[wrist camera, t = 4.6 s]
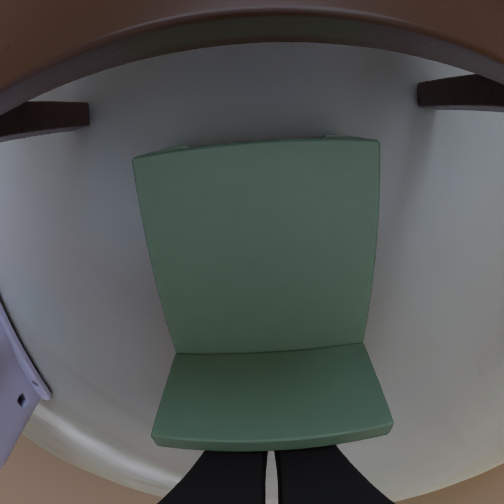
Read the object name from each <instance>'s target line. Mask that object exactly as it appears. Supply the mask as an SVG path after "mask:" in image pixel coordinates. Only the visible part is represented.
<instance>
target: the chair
mask: <svg viewBox="0 0 504 504" xmlns="http://www.w3.org/2000/svg"><path fill="white" fill-rule="evenodd" d="M132 162H133V169H134V176H135V182H136V188H137V194H138V200H139V206H140V211H141V217H142V222H143V227H144V232H145V237H146V241H147V246H148V251H149V255H150V260H151V264H152V268H153V272H154V276H155V281H156V285H157V288H158V292H159V296H160V300H161V304H162V307H163V311H164V315H165V318H166V322H167V325H168V329H169V332H170V335H171V339H172V342H173V345H174V348H175V352H176V355H175V357H174V360H173V364H172V367H171V370H170V373H169V376H168V379H167V382H166V386H165V389H164V392H163V395H162V399H161V402H160V405H159V409H158V412H157V415H156V419H155V422H154V426H153V429H152V432H151V437H152V438H153V440H154V441H155V443H156V444H157V445H158V446H163V447H172V448H181V449H193V450H208V451H276V450H291V449H303V448H312V447H321V446H328V445H335V444H342V443H348V442H353V441H359V440H364V439H369V438H374V437H378V436H383V435H387V434H388V433H389V432H390V430H391V428H392V426H393V424H394V421H393V419H392V416H391V413H390V410H389V407H388V405H387V402H386V399H385V397H384V394H383V391H382V389H381V386H380V383H379V381H378V378H377V376H376V373H375V371H374V368H373V366H372V363H371V361H370V358H369V356H368V353H367V351H366V348H365V346H364V344H363V339H364V333H365V328H366V322H367V316H368V310H369V303H370V296H371V289H372V281H373V273H374V264H375V254H376V243H377V231H378V215H379V193H380V142H379V140H375V139H366V138H359V137H350V136H324V138H299V139H275V140H259V141H245V142H234V143H223V144H214V145H205V146H197V147H188V146H179V147H172V148H168V149H164V150H160V151H156V152H152V153H148V154H145V155H140V156H137V157H134V158H133V159H132Z"/></svg>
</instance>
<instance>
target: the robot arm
mask: <svg viewBox="0 0 504 504" xmlns="http://www.w3.org/2000/svg"><path fill="white" fill-rule="evenodd" d="M51 397H52V394H51V392H50V391H49V389H48V388H47V386H46V385H45V383H44V382H43V380H42V379H41V377H40V376H39V374H38V372H37V371H36V369H35V367H34V366H33V364H32V362H31V361H30V359H29V357H28V356H27V354H26V352H25V350H24V348H23V347H22V345H21V343H20V341H19V339H18V337H17V335H16V333H15V331H14V330H13V327H12V325H11V323H10V321H9V319H8V317H7V315H6V313H5V311H4V308H3V306H2V304H1V302H0V469H1V468H2V467H3V465H4V464H5V463H6V461H7V459H8V457H9V455H10V453H11V451H12V449H13V447H14V446H15V443H16V442H17V440H18V438H19V436H20V434H21V432H22V430H23V429H24V427H25V425H26V423H27V421H28V419H29V418H30V416H31V414H32V412H33V411H34V409H35V407H36V406H37V404H38V402H39V400H40V399H44V400H50V399H51ZM274 453H275V460H276V468H277V477H278V504H395V503H394V502H392V501H391V500H390V499H388V498H387V497H386V496H385V495H384V494H382V493H381V492H380V491H379V490H378V489H377V488H375V487H374V486H373V485H372V484H371V483H370V482H369V481H368V480H367V479H366V478H365V477H364V476H363V475H362V474H361V473H360V472H359V471H358V470H357V469H356V468H355V467H354V466H353V465H352V464H351V463H350V462H349V460H348V459H347V458H346V457H345V456H344V455H343V453H342V452H341V451H340V450H339V448H338V447H337V446H336V445H328V446H321V447H312V448H303V449H291V450H276V451H274ZM267 455H268V451H208V450H205V451H204V452H203V454H202V455H201V457H200V458H199V459H198V460H197V462H196V463H195V464H194V466H193V467H192V468H191V469H190V471H189V472H188V473H187V474H186V475H185V476H184V478H183V479H182V480H181V481H180V482H179V483H178V484H177V485H176V486H175V487H174V488H173V489H172V490H171V491H170V492H169V493H168V494H167V495H166V496H165V497H164V498H163V499H162V500H161V501H160V502H159V503H157V504H266V503H265V480H266V466H267Z"/></svg>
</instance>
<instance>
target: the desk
mask: <svg viewBox="0 0 504 504" xmlns="http://www.w3.org/2000/svg"><path fill="white" fill-rule="evenodd" d="M261 42H314V43H331V44H343V45H352V46H361V47H369V48H375V49H382V50H388V51H393V52H399V53H404V54H408V55H413V56H417V57H422V58H426V59H430V60H434V61H437V62H441V63H444V64H448V65H451V66H454V67H458V68H461V69H464V70H467V71H470V72H473V73H475V74H472V75H464V76H457V77H450V78H444V79H438V80H432V81H426V82H421V83H418V96H419V106H420V107H425V108H430V109H436V110H475V111H493V112H504V0H0V142H4V141H9V140H15V139H20V138H26V137H31V136H38V135H44V134H51V133H59V132H67V131H73V130H77V129H80V128H83V127H87V126H89V124H90V123H89V111H88V103H84V102H61V101H29V100H31V99H33V98H35V97H37V96H39V95H41V94H43V93H46V92H48V91H50V90H52V89H55V88H57V87H59V86H62V85H64V84H67V83H69V82H72V81H74V80H77V79H80V78H83V77H85V76H88V75H91V74H94V73H97V72H100V71H103V70H106V69H109V68H113V67H116V66H119V65H123V64H126V63H130V62H134V61H138V60H142V59H146V58H150V57H155V56H159V55H164V54H169V53H174V52H179V51H185V50H191V49H198V48H205V47H213V46H221V45H231V44H243V43H261Z"/></svg>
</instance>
